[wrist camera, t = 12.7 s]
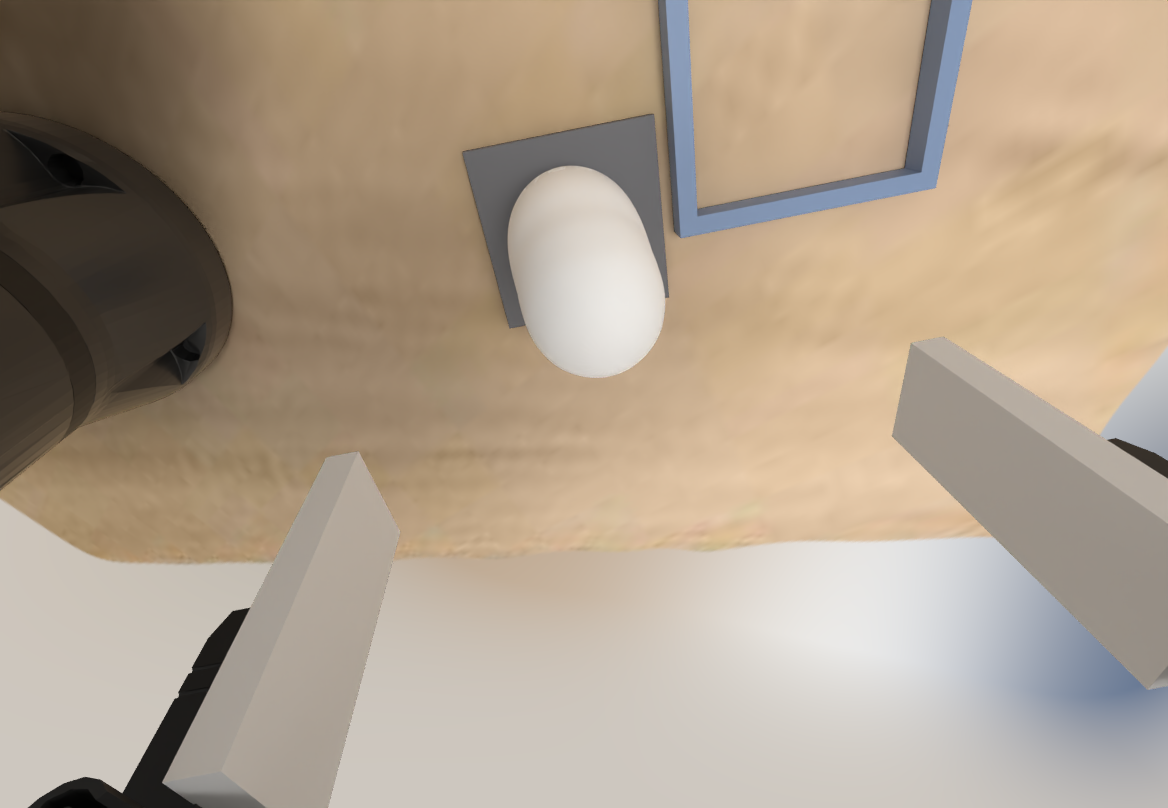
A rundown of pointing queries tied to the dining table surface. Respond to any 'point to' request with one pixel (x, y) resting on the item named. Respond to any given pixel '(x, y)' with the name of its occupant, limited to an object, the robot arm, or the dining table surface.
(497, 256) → the mat
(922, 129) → the cradle
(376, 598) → the robot arm
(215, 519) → the dining table surface
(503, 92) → the dining table surface
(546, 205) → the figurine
